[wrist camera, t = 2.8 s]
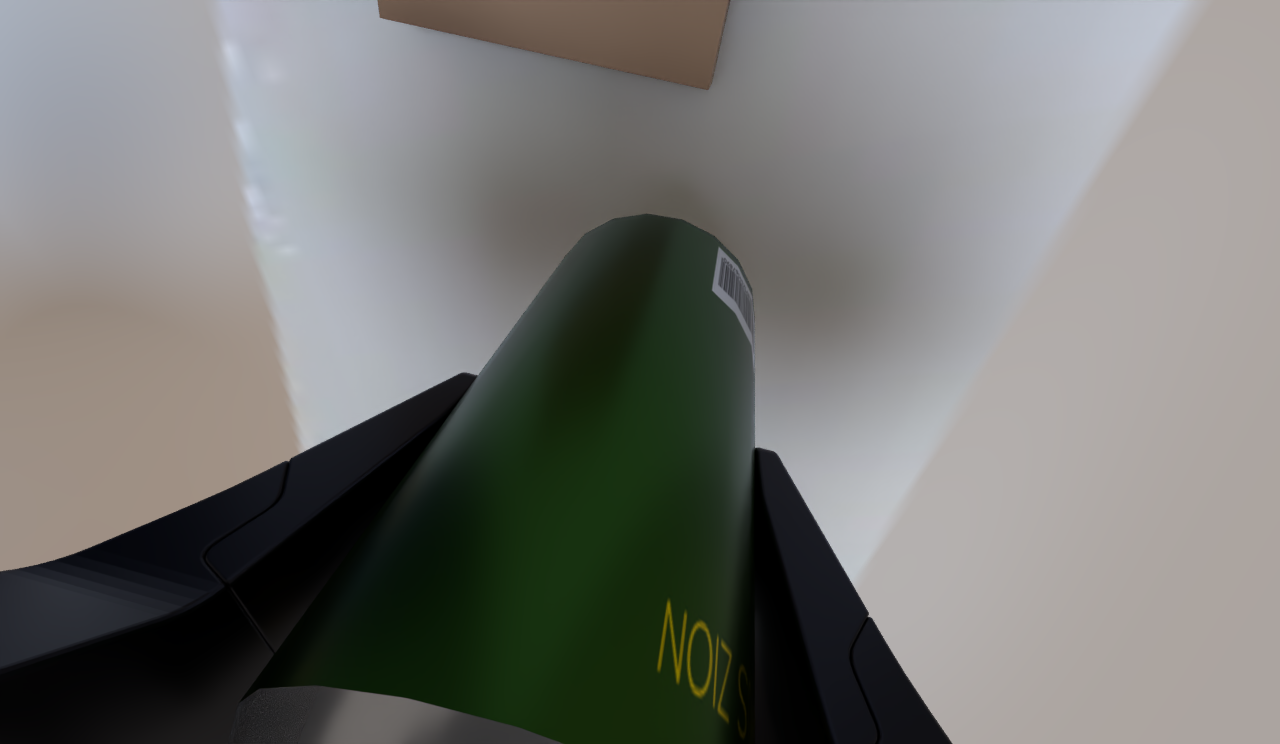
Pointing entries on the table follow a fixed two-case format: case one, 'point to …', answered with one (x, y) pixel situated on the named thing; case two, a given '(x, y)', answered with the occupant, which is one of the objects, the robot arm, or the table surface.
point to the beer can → (559, 531)
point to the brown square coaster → (588, 31)
